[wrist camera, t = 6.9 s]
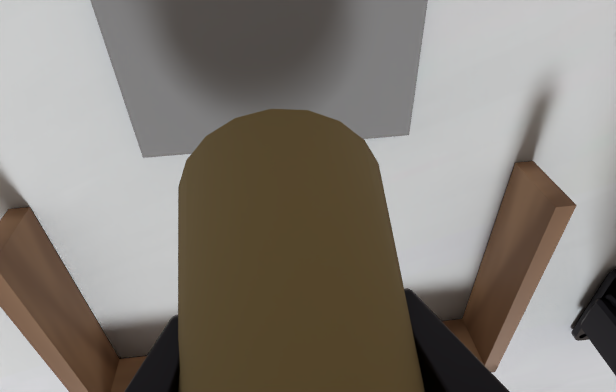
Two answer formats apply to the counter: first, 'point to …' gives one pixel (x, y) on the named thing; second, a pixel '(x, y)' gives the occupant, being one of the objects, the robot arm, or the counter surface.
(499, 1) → the counter surface
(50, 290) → the wooden u-shaped frame
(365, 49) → the grey mat
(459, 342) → the robot arm
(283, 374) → the cork
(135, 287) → the counter surface
